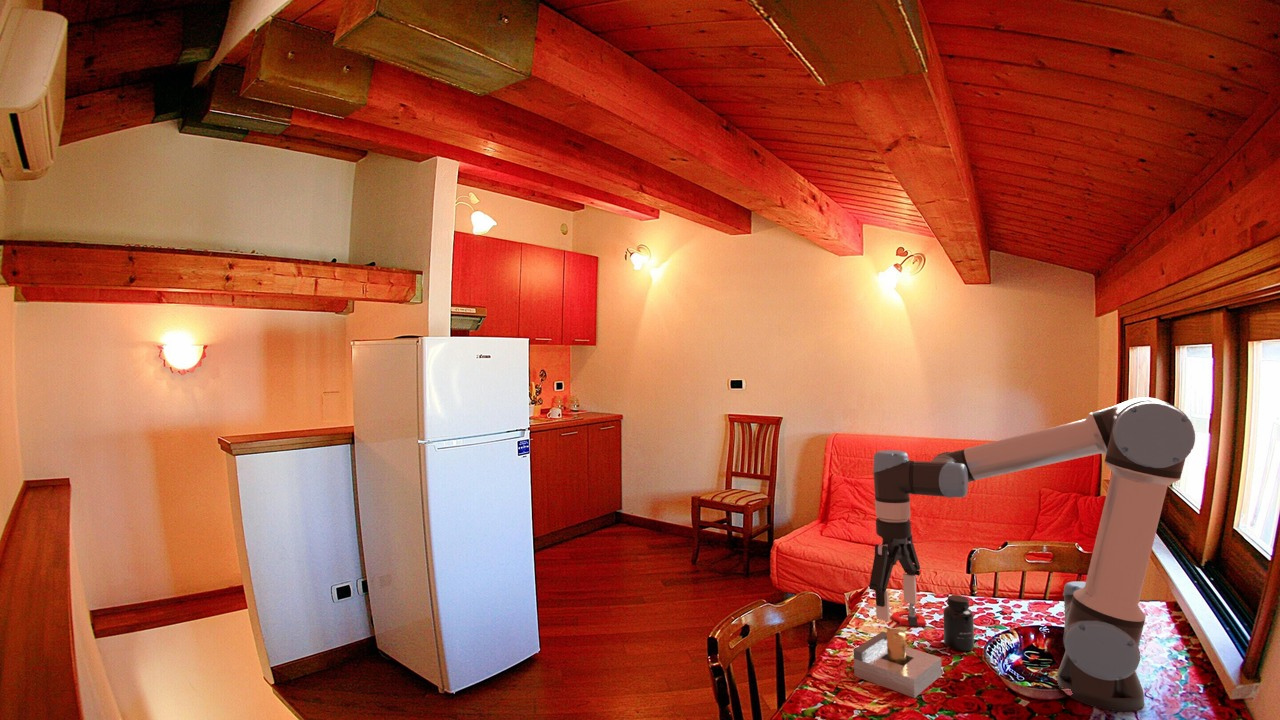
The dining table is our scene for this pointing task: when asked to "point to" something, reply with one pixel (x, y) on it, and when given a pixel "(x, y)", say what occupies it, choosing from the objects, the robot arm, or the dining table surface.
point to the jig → (895, 667)
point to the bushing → (896, 646)
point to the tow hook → (909, 617)
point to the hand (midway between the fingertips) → (897, 611)
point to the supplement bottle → (958, 624)
